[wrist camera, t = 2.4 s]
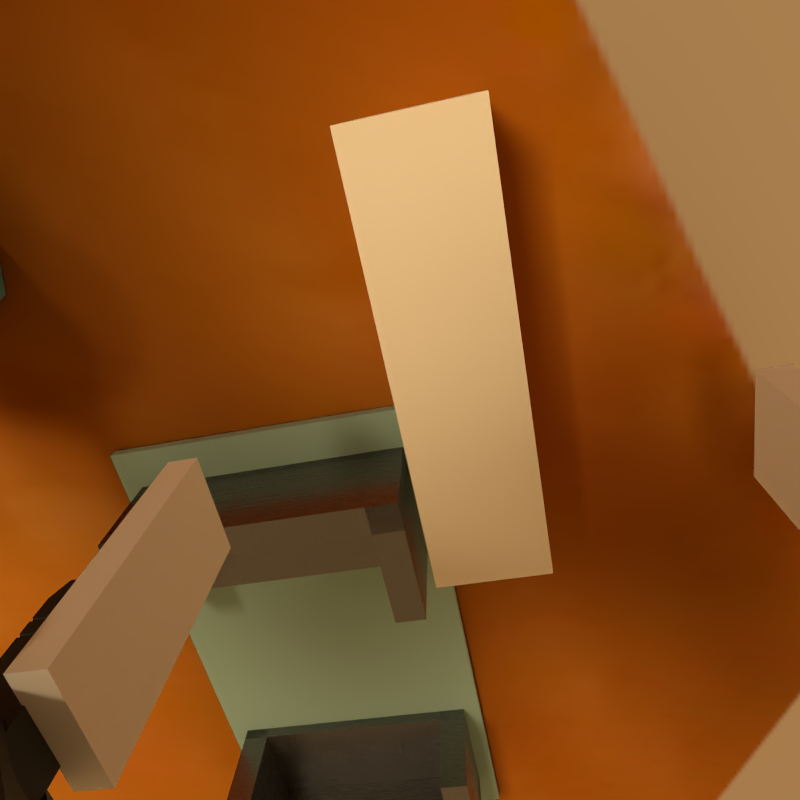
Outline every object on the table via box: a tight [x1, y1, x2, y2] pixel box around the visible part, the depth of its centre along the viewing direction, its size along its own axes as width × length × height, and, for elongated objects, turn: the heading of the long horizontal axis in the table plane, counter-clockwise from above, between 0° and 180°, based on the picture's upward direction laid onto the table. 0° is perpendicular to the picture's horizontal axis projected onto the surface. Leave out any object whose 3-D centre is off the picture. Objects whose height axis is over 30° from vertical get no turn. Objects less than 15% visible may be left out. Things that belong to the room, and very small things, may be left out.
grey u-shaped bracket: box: [98, 447, 428, 623], centre depth 26 cm, size 5×11×4 cm, turn 102°
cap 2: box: [227, 709, 481, 800], centre depth 32 cm, size 5×11×4 cm, turn 102°
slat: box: [330, 90, 553, 588], centre depth 22 cm, size 15×4×6 cm, turn 12°
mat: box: [110, 405, 499, 800], centre depth 31 cm, size 24×13×1 cm, turn 12°
